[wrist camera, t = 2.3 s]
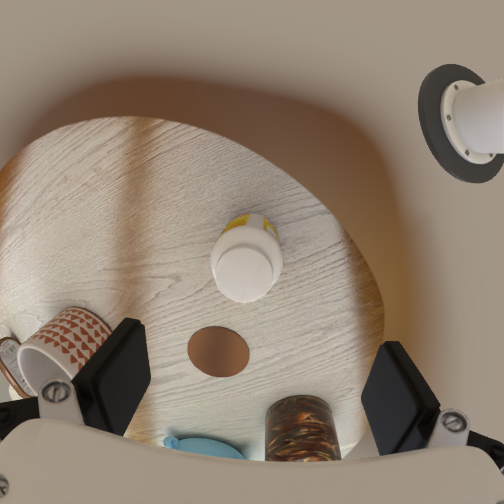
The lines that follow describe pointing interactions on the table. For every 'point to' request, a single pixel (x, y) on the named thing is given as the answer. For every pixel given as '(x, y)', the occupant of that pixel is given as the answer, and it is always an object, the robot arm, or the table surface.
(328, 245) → the table surface
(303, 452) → the jar
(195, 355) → the brown coaster
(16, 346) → the tin
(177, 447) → the teapot
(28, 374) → the planter
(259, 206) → the table surface
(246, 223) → the supplement bottle
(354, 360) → the table surface
